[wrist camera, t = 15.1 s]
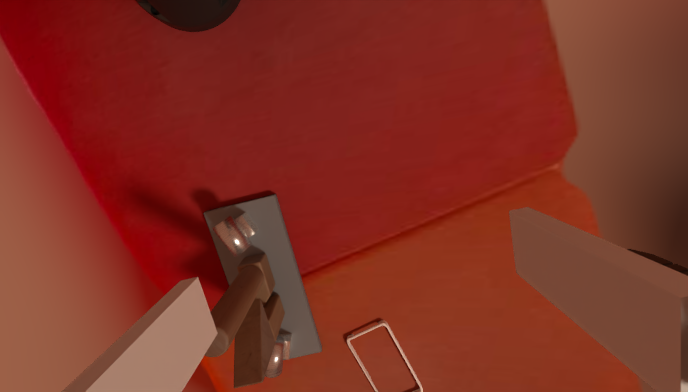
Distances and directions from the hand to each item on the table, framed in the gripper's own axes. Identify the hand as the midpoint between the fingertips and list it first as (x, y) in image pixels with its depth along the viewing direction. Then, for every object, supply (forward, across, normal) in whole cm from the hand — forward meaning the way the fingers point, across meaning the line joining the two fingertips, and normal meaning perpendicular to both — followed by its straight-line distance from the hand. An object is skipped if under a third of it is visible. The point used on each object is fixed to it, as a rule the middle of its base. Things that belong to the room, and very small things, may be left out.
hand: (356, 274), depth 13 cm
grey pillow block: (+34, -18, -5) cm, 39 cm away
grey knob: (+33, -17, -25) cm, 45 cm away
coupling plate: (+34, -17, -15) cm, 41 cm away
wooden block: (+33, -17, -15) cm, 40 cm away
